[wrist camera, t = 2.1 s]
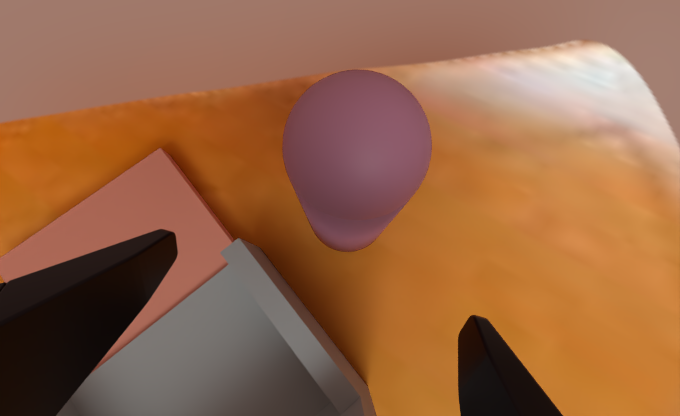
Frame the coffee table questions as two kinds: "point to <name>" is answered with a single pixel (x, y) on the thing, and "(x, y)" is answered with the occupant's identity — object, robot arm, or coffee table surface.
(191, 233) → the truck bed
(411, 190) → the yam
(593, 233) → the coffee table surface
